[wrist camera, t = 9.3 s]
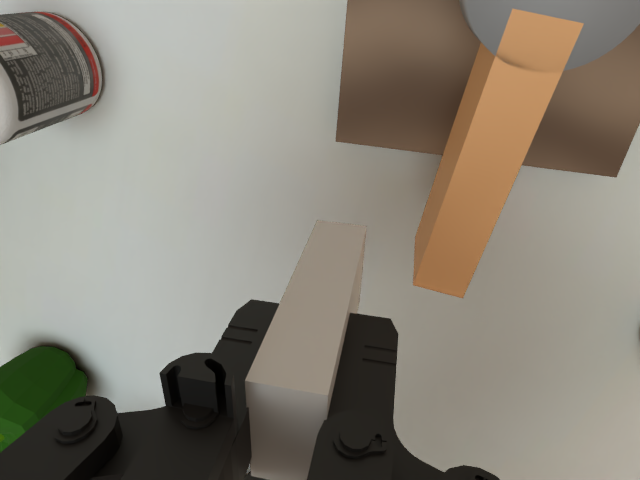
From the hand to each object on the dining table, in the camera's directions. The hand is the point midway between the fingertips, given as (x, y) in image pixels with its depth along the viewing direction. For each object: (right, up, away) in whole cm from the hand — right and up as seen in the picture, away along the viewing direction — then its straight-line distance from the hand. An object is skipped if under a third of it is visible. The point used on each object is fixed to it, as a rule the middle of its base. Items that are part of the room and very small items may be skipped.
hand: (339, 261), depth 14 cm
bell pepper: (-24, -11, +27) cm, 38 cm away
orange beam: (+6, +6, +4) cm, 9 cm away
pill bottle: (-16, +11, +13) cm, 23 cm away
